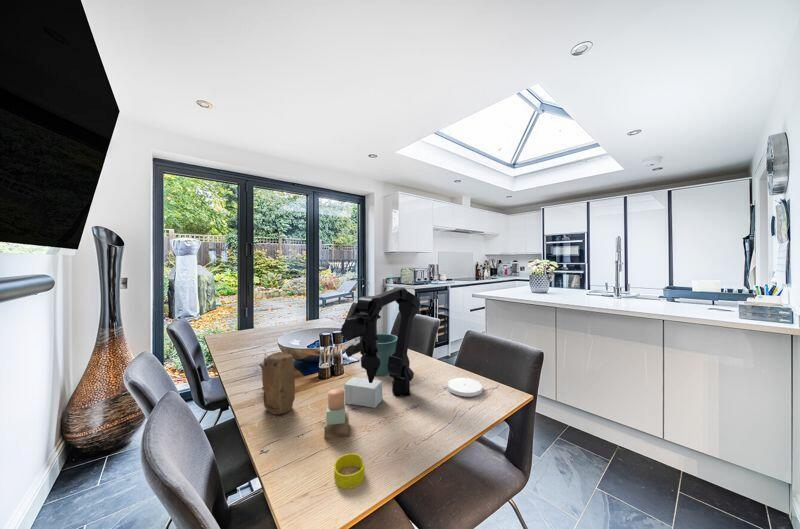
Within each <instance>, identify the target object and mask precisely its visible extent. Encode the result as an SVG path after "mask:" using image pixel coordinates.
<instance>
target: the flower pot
mask: <svg viewBox="0 0 800 529" xmlns="http://www.w3.org/2000/svg"><path fill="white" fill-rule="evenodd" d="M377 337H378V340H377V348H378V352H377V354H378V355H379V356H380V366H379V368H378V370H377V372H376V375H375V376H377V375H378V376H380V377H381V376H382V377H384V376H388V374H389V372H388V369H387V368H388V366H387V364H388V359H389V356H392V355H393V354H394V352H395V348H396V343H397V337H398V335H394V334H390V333H377Z"/></svg>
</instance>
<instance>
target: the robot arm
mask: <svg viewBox="0 0 800 529" xmlns="http://www.w3.org/2000/svg"><path fill="white" fill-rule="evenodd" d="M393 302H395V303H397V304H398V311H399V314H400V320H399V326H398V332H397V343H396V348H395V352H394V354H393V355H392V356H389V359H388V364H387V366H388V368H387V369H388V372H389V378H392V379H393V380H392V381H391V390H392V394H393V396H394V397H397V398H398V397H409V396H411V395H412V394H411V386H410V385H411V384H410V383H411V382H412V381H413V380H412V379H414V374H415V372H414V371H413V370H412V369H411V368H410V359H409V356H408V351H409V350H408V349H409V344H410V338H411V332H412V325H413V320H414V317H415V316H416V315H417V314H418V312H419V309H420V305H421V302H420V300H419V297H417V296H416V295H415V294H413V293H411V292H410V291H409V290H407V289H406V288H405V287H400V286H399V287H398V286H397V287H393V288H392V289H389V290H387V291H384V292H382V293H379V294H377V295H368V296H367V295H366V296H362V297H359V298H358V300H357V302H356V305H355V307H354V309H353V311H352V314H351V316H350V318H349V317H348V318H345V321H344V323H343V324H342V325H341V328H340V332H341V336H342V339H345V340H346V341H351V340H354V339H357V338H359V339H357V340H354V341H352V342H350V343H346V344H345V345H344V348H343V349H344V351H345V355H346V357H347V358H350V357H353V356H354V355H357V354H360V355H361V356H360V367H361V368H362V369H364V370H365V371H366V376H367V379H368V380H369V383H372V382H373V380H375V378H376V376H377V375H376V372H377V370H378V368H379V366H380V356H379V355H378V354H377V352H378V348H377V340H378V337H377V334H378V326H377V325H378V324H377V323H378V320H379V319H381V315H380V314H378V313H379V312H380V311H382V309H383V307H384V306H387V305H389V304H390V303H393Z"/></svg>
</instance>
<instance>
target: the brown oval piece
mask: <svg viewBox="0 0 800 529" xmlns="http://www.w3.org/2000/svg"><path fill="white" fill-rule="evenodd" d="M344 391H345V389H342V388H332V389H330V390H328V392H327V405H328V408H329V409H330V410H340V409H342V408H343V407H344V402H345V392H344Z"/></svg>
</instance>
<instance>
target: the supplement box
mask: <svg viewBox="0 0 800 529" xmlns="http://www.w3.org/2000/svg"><path fill="white" fill-rule="evenodd" d="M343 388H344V389H343V390H344V402H345V404H349V405H356V406H360V407H367V408H373V409H376V407H377V406H378V405H379V404H380V403H381V402H382V400H383V381H382V380H377V379H374V380H373V382H372V383H369V380H368V378H362V377H361V378H360V377H354V376H353V377H352V378H351V379H349V380H348V381H347V382H346V383H344V387H343Z"/></svg>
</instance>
